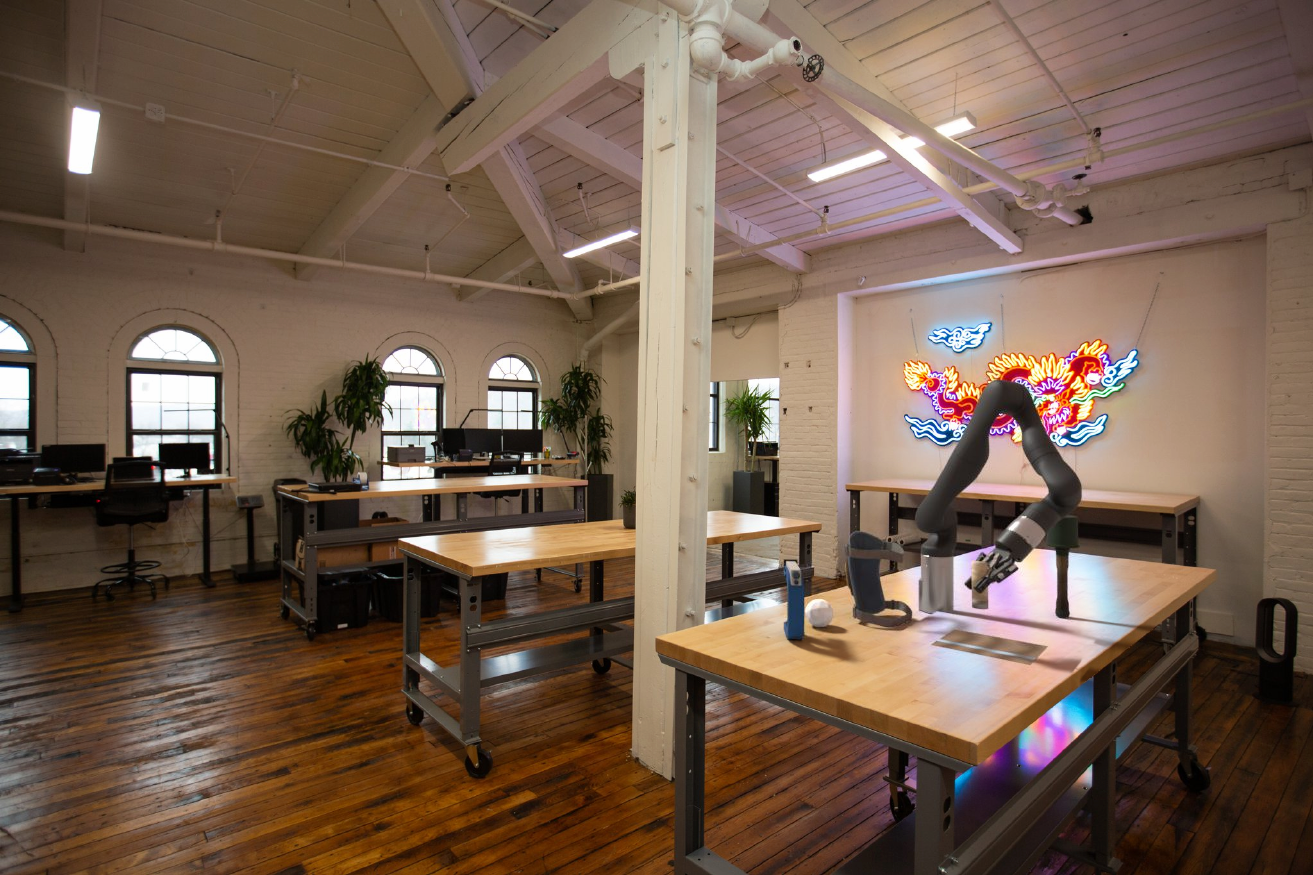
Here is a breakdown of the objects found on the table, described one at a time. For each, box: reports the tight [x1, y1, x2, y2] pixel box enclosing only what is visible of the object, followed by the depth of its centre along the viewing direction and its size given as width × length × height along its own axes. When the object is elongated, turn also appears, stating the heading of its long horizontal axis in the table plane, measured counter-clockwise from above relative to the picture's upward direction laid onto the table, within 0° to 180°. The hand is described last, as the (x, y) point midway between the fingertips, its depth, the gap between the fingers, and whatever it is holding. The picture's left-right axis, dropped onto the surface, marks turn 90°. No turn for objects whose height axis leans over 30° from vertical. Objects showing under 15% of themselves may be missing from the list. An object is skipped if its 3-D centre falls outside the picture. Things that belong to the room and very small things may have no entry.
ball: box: [804, 598, 835, 628], centre depth 185 cm, size 8×8×8 cm
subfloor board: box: [930, 628, 1048, 666], centre depth 163 cm, size 22×18×2 cm
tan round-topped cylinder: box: [970, 560, 989, 610], centre depth 161 cm, size 4×4×11 cm
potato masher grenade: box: [1045, 514, 1080, 619], centre depth 195 cm, size 8×9×30 cm
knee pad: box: [843, 530, 913, 629], centre depth 193 cm, size 18×20×25 cm
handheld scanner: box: [783, 558, 805, 640], centre depth 176 cm, size 4×16×19 cm, turn 174°
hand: (972, 588), depth 161 cm, fingers closed on tan round-topped cylinder, 3 cm apart
